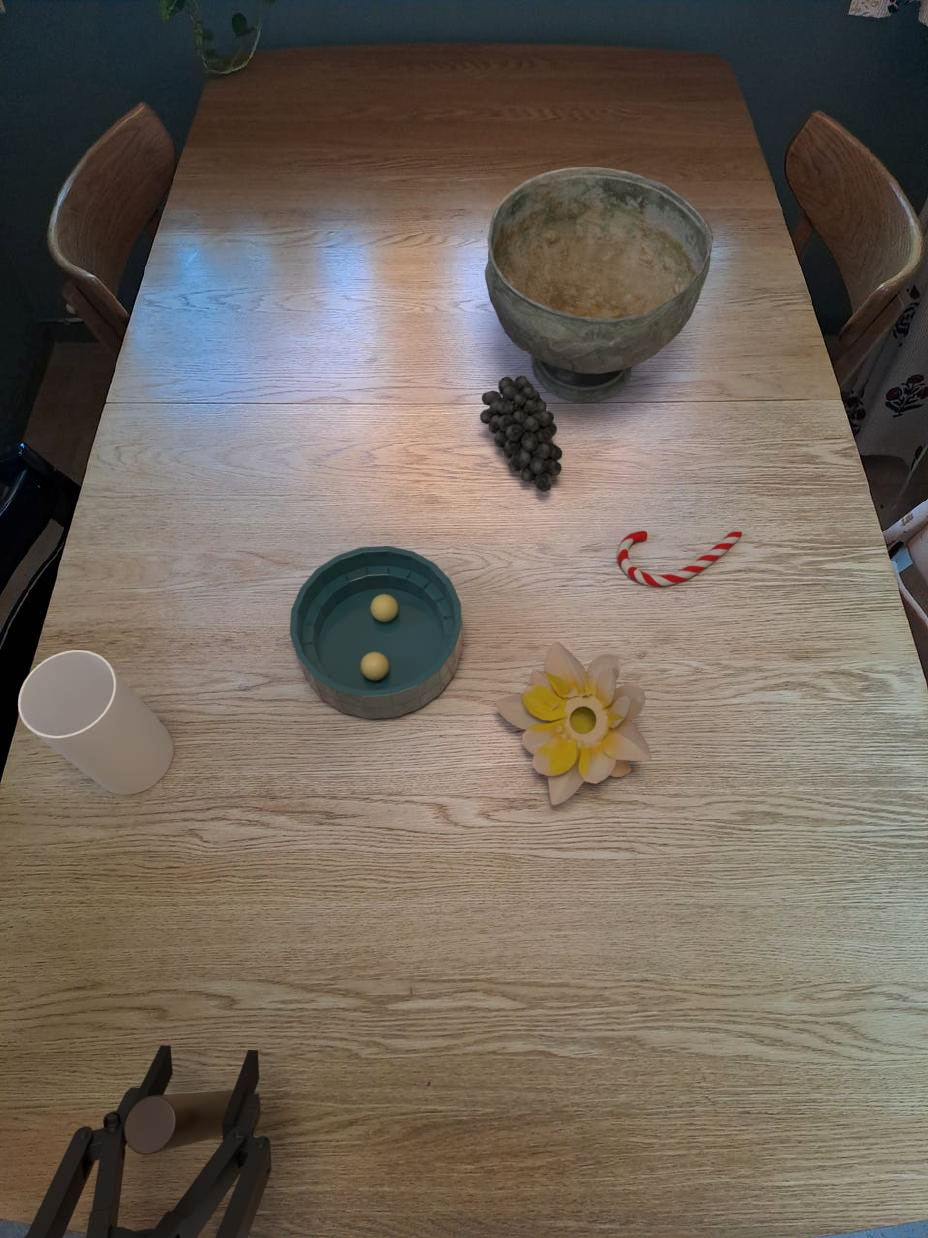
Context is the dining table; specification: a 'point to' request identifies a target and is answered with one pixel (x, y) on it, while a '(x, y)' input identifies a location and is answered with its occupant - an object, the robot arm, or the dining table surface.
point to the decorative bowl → (594, 274)
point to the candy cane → (676, 576)
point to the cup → (96, 722)
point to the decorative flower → (578, 721)
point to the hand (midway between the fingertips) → (210, 1062)
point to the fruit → (512, 419)
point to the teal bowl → (377, 631)
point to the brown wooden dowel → (175, 1120)
